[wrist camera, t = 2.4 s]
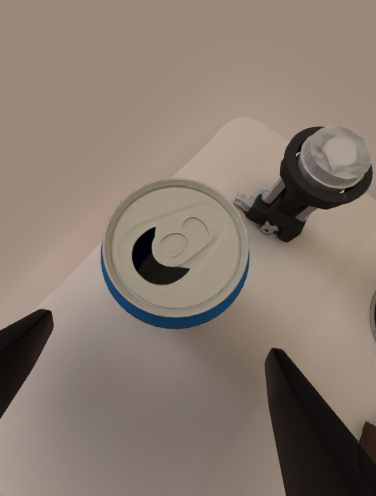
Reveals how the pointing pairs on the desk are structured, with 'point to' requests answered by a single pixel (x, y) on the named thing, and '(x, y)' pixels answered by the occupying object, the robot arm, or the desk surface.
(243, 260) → the beverage can
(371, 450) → the wooden divided tray
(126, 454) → the desk surface
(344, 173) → the push button
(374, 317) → the flashlight
